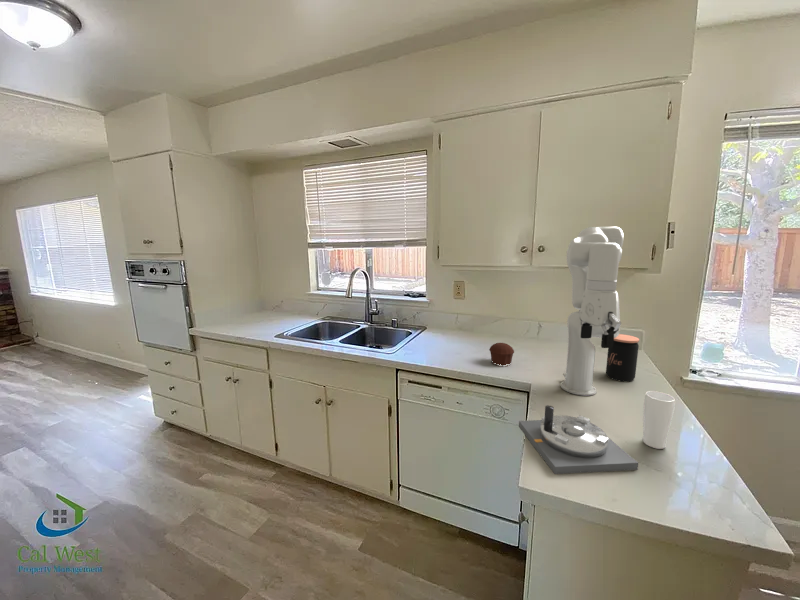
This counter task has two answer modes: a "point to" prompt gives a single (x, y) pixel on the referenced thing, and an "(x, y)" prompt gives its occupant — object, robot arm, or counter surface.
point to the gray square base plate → (568, 463)
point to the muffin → (501, 353)
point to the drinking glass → (657, 418)
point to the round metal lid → (573, 434)
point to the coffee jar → (622, 358)
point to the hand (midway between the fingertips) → (595, 342)
